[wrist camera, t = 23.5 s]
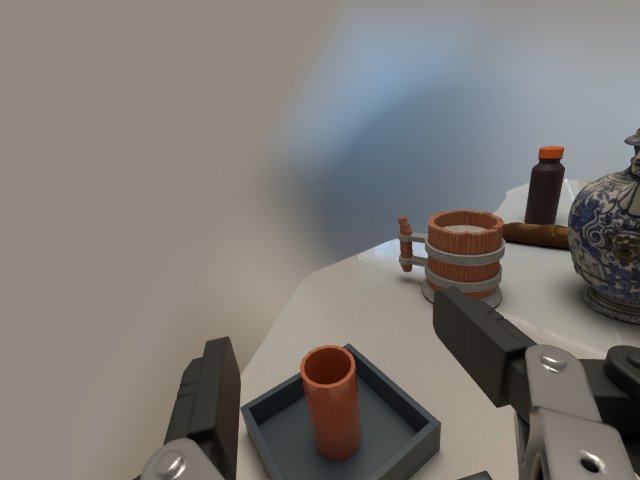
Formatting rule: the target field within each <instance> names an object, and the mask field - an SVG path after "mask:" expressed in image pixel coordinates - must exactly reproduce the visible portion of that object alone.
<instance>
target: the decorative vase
mask: <svg viewBox="0 0 640 480" xmlns="http://www.w3.org/2000/svg"><path fill="white" fill-rule="evenodd" d="M625 143H627V144H629V145H634V149H635V157H633V158H632V159H631V166H630V167H629V168H627V169H626V170H624V171H622V172H616V173H611V174H608V175H606V176H603V177H601V178H599V179H597V180H595V181H593V182H591V183H589V184H588V185H587V186H585V187H584V188H583V189H582V190H581V191H580V192H579V194H578V195H577V196H576V198H575V200H574V202H573V204H572V206H571V210H570V213H569V218H568V243H569V248H570V252H571V255H572V261H573V262H574V268H575V271H576V273H578V274H580V275H581V276H582V277H583V278H584V280H585V281H586V282H587V283H588V284H589V285H590V287H588V288H587V289H586V290H585V291H584V293H583V299H584V301H585V302H586V304H587V305H588V306H590V307H591V308H593V309H594V310H596V311H597V312H599V313H601V314H603V315H606V316H608V317H611V318H615V319H618V320H621V321H624V322H629V323H635V324H640V128H639V129H638V130H637V133H636V135H633V136H630V137H628V138H627V139H626V140H625Z"/></svg>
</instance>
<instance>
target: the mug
mask: <svg viewBox="0 0 640 480" xmlns="http://www.w3.org/2000/svg"><path fill="white" fill-rule="evenodd" d="M398 221H399V224H400V233H399V240H400V250H401V255H400V256H399V262H400V263H401V267H402V269H403V271H404V272H411V270H412V264H413V265H419V266H424V267H425V275H426V277H427V278H426V280H425V281H424V283H423V285H422V290H423V293H424V295H425V296H426V297H427V298H428V299H429V300H430V301H431V302H433V298H434V292H435V291H436V290H439V289H444V288H448V287H453V286H455V287H457V288H458V289H459V290H461V291H462V292H463V293H464V294H465V295H467V296H473V297H475V298H477V299H479V300H482V301H484V302H485V303H487V304H488V305H489V306H490V307H492V308H493V307H495V306H496V305H497V304H499V303H500V301H501V299H502V293H501V290H500V289H499V287H498V284H499V283H500V281H501V275H502V267H501V265H500V263H499V261H500V259H501V258H502V257H503V255H504V251H505V243H506V242H505V240H504V239H503V238H502V236H503V228H504V222H503V219H502V218H501V217H498V216H495V215H493V214H491V213H490V212H480V211H471V210H456V211H448V212H440V213H437V214H435V215H434V216H432V217H431V218H430V219H429V228H428V235H424V234H416V233H413V232H412V229H411V228H410V224H409V223H408V221H407V217H406V216H401V217H399V218H398ZM412 241H413V242H420V243H425V250H426V252H427V253H428V258H423V257H417V256H414V255H413V254H412V252H413V251H412Z"/></svg>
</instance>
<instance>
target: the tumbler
mask: <svg viewBox="0 0 640 480" xmlns="http://www.w3.org/2000/svg"><path fill="white" fill-rule="evenodd" d="M300 370H301V376H302V381H303V387H304V392H305V397H306V402H307V407H308V412H309V417H310V422H311V427H312V433H313V438H314V443H315V446H316V448H317V450H318V451H319V453H320V454H321V455H322V456H324V457H325V458H327V459H329V460H333V461H342V460H346V459H348V458H350V457H352V456H353V455H354V454H355V453H356V452H357V451H358V449H359V447H360V445H361V442H362V425H361V415H360V405H359V395H358V385H357V375H356V365H355V361H354V358H353V356H352V354H351V353H350V352H348V351H347V350H346V349H344V348H342V347H339V346H333V345H326V346H321V347H318V348H316V349H314V350H312V351H310V352H309V353H308V354H307V355H306V356H305V357H304V358H303V360H302V363H301V366H300Z"/></svg>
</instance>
